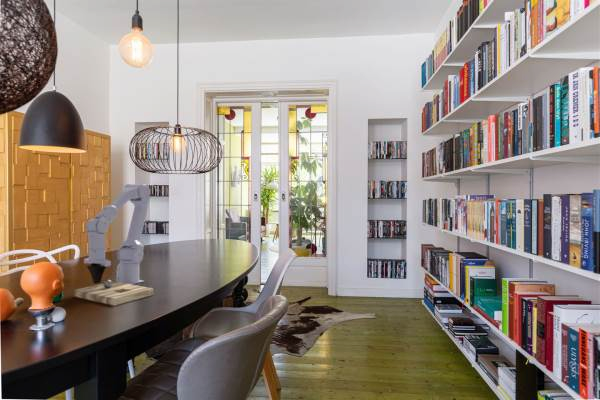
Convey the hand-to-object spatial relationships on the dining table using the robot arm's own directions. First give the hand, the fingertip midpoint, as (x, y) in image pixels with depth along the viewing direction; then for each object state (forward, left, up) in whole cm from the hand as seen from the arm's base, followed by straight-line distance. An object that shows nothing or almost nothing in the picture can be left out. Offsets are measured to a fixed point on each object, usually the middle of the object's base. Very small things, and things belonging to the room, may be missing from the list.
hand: (97, 282), depth 141 cm
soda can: (-1, -15, -4) cm, 16 cm away
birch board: (+11, 0, -4) cm, 11 cm away
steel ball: (+7, 0, 0) cm, 7 cm away
